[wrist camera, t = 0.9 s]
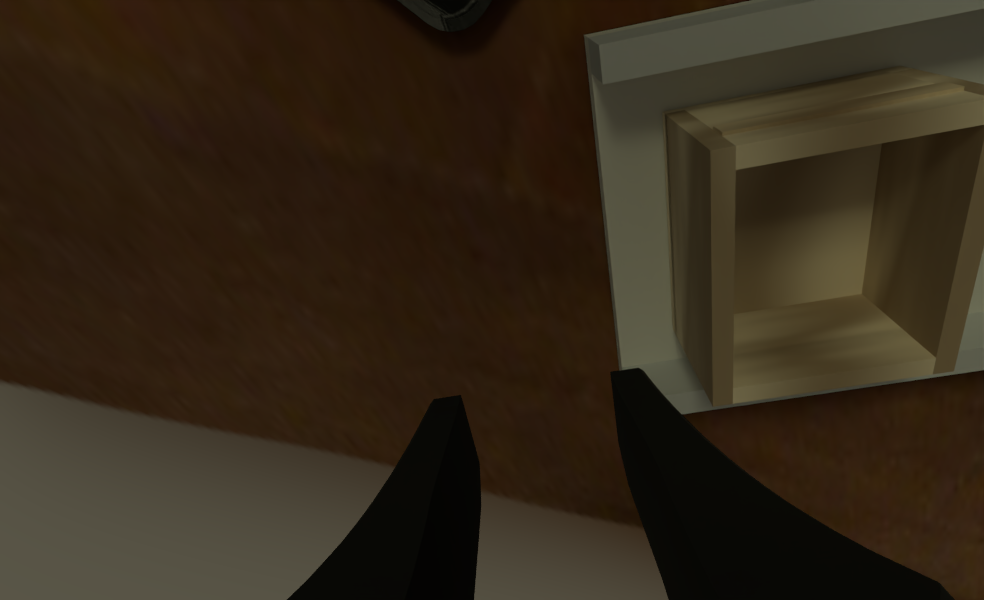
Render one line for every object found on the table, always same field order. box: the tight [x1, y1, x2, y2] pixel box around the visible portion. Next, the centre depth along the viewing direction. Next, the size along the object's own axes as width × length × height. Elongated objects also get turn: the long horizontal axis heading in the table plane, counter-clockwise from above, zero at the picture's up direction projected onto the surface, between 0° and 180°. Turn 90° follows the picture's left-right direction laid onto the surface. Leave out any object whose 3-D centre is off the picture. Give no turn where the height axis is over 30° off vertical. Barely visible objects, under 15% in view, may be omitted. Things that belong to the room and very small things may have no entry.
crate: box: [662, 66, 984, 407], centre depth 18 cm, size 7×8×4 cm
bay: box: [584, 0, 984, 414], centre depth 17 cm, size 17×13×7 cm
